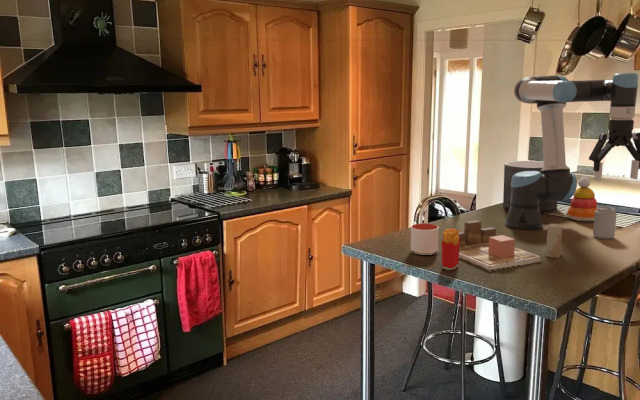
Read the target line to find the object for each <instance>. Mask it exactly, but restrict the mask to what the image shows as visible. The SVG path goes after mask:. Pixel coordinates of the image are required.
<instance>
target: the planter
mask: <svg viewBox="0 0 640 400" xmlns="http://www.w3.org/2000/svg"><path fill="white" fill-rule="evenodd" d="M543 167H544V160H543V161H542V160H538V161H537V160H516V161H515V160H514V161H509V162H508V161H507V162H505V163H504V170H503V171H504V172H503V192H502V193H503V198H502V199H503V201H502V206H503V208H504V209H506V210H508V211H509V209H510V200H511V181H512V176H513V175H514V174H516V173H519V172H524V171H539V172H540V173H541V170H542V168H543ZM557 210H558V201H539V211H540V214H545V213H546V214H547V213H551V212H555V211H557Z"/></svg>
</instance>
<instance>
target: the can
mask: <svg viewBox="0 0 640 400" xmlns="http://www.w3.org/2000/svg"><path fill="white" fill-rule="evenodd" d="M617 214H618V212H616V208H614V207H611V206H597V210H596V211H595V216H594V221H593V229H592V236H594V237H595V238H596V239H599V240H612V239H613V238H614V237H615V236H616V225H617V223H616V222H617Z"/></svg>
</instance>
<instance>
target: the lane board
mask: <svg viewBox="0 0 640 400" xmlns="http://www.w3.org/2000/svg"><path fill="white" fill-rule="evenodd" d="M483 245H484V244H483ZM466 247H467V246H466ZM468 248H470V247H468ZM471 249H472V248H471ZM473 250H475V249H473ZM518 251H524V252H527V253H530V254H533V255H535V257H533V258H527V259H521V258H519V257H518V258H519V260H517V261H511V262H505V261H503V260H501V261H503V263H501V264H496V265H487V264H485V263H483V262H480V261H478V260H475V259H473V258H472V257H474V256H479V255H485V253H482V252H480V251H477V250H476V253H475V254H469V255H464V254H461V253H459V255H460V256H462V257H464V258H466V259H468V260H471V261H473V262H475V263H476V264H478V265H481V266H483V267H485V268H487V269H489V270H491V269H497V268H503V267H510V268H512V267H511V266H515V267H518V266H517V265H520V266H525V265H530V264H535V263H540V262H541V261H542V259H541V258H542V257H541V255H537V254H535V253H532V252H529V251H526V250H524V249H520V248H518V247H515V250H514V252H518ZM486 255H487V254H486ZM489 256H490V255H489ZM491 257H492V256H491ZM515 257H516V256H515ZM494 258H495V257H494ZM496 259H498V258H496ZM499 260H500V259H499Z"/></svg>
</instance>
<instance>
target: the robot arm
mask: <svg viewBox="0 0 640 400" xmlns="http://www.w3.org/2000/svg"><path fill="white" fill-rule="evenodd" d="M638 80H639V75H638V74H637V73H635V72H634V73H633V72H626V73H624V72H623V73H614V74H613V76H612V79H591V80H589V79H588V80H587V79H586V80H569V79H568V78H567V77H566V76H563V75H555V74H553V75H539V76H538V75H536V76H535V75H533V76H526V77H524V78H522V79H520V80H519V81H517V83H516V84H515V86H514V90H513V92H514V97H515V98H516V100H517V101H519V102H521V103H523V104H528V105H529V104H534V105H535V104H536V108H537V110H538V111H539V112H540V118H541V133H542V134H541V135H542V136H541V138H542V150H543V154H542V155H543V161H544V167H543V168H542V170H541V173H540V172H539V171H524V172H519V173H516V174H514V175H513V176H512V181H511V200H510V209H509V210H508V212H507V215H506V217H505V220H504V225H505V226H507V227H509V228H513V229H518V230H538V229H542V227H543V219H542V217H541V213H540V211H539V201H557V202H559V201H560V202H561V201H567V200H570V199H572V197H574V193H575V191H576V190H577V189H578V181H577V180H578V179H577V178H576V175H575V174H574V173H573V172H571V168H570V167H569V166H567V164H566V163H567V162H566V161H567V160H566V144H565V143H566V142H565V128H564V127H565V124H564V113H563V112H564V111H563V110H564V109H565V108H566V107H567V103H577V102H578V103H579V102H583V103H585V102H587V103H588V102H610V108H609V115H608V117H609V118H610V119H609V121H608V126H607V127H608V128H607V129H608V134H607V133H599V134H598V135H599V137H598V139H597V142H596V144H595V145H594V147H593V149H592V151H591V153H590V155H589V156H588V160H589V161H592V162H593V168H592V170H593V171H594V177H593V178H594V181H596V182H597V181H598V182H601V181H602V176H603V174H602V173H603V164H604V163H603V162H602V160H603V159H604V158H605V157H606V156H607V155H608V154H609V153H610V152H611V150H612V149H613V148H615V147H620V146H621V147H625V148H626V150H627V151H628V152H629V153H630V155H631V157H633V159H632V160H631V166H630V167H631V168H630V175H629V176H630V177H629V179H632V180H638V178H639V177H638V176H639V170H640V132H637V131H636V132H635V131H633V130H634V125H635V120H634V118H635V114H636V113H635V112H636V103H637V96H638V95H637V94H638V87H639V81H638ZM607 140H608V141H607Z"/></svg>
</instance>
